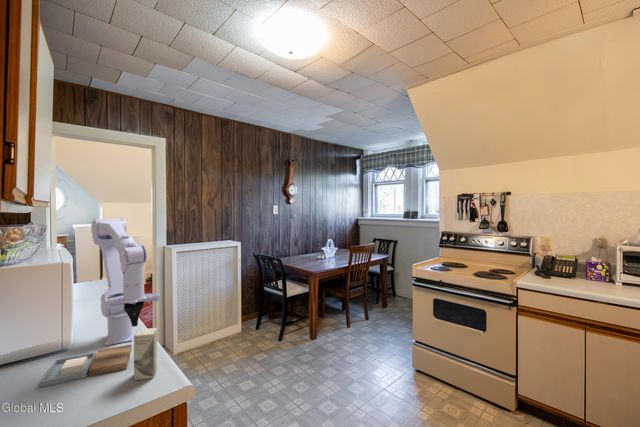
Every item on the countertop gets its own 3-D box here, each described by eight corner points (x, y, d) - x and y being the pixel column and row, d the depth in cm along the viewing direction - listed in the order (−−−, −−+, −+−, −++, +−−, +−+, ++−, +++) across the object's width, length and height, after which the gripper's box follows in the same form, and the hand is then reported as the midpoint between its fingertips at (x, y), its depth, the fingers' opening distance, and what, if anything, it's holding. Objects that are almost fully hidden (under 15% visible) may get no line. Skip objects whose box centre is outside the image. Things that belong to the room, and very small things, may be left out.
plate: (98, 356, 95) (98, 350, 95) (131, 350, 99) (131, 344, 99) (88, 376, 85) (88, 370, 84) (126, 369, 89) (126, 362, 88)
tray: (55, 364, 91) (55, 359, 91) (96, 356, 95) (96, 352, 95) (40, 387, 80) (40, 381, 80) (86, 377, 84) (86, 372, 84)
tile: (66, 366, 89) (66, 360, 89) (87, 362, 91) (87, 356, 91) (61, 375, 85) (61, 368, 84) (83, 371, 87) (83, 364, 87)
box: (133, 381, 83) (132, 335, 82) (138, 372, 87) (137, 329, 86) (154, 378, 84) (153, 333, 83) (158, 369, 88) (157, 327, 88)
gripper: (103, 290, 89) (105, 334, 90) (158, 284, 96) (159, 325, 96) (108, 284, 95) (109, 325, 96) (159, 278, 102) (160, 317, 103)
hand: (134, 325), depth 97 cm, fingers closed
